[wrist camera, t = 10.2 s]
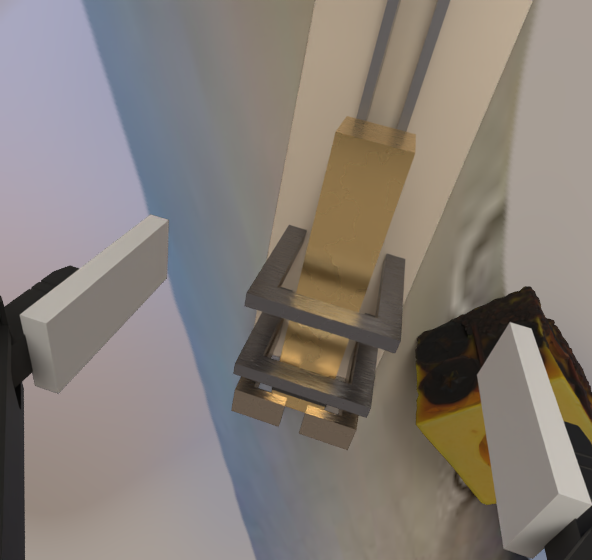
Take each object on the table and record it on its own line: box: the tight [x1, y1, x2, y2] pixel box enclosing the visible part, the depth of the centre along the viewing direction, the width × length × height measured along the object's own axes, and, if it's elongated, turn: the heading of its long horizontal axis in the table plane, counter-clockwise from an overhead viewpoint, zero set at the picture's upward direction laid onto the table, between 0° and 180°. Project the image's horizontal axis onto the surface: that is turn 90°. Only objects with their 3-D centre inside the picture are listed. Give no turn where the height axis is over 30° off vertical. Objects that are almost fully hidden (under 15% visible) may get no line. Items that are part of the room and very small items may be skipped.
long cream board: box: [254, 0, 533, 378], centre depth 30 cm, size 40×12×3 cm, turn 168°
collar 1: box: [245, 225, 405, 353], centre depth 31 cm, size 1×10×11 cm, turn 78°
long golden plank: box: [272, 116, 416, 413], centre depth 31 cm, size 22×4×4 cm, turn 168°
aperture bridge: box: [231, 318, 359, 450], centre depth 36 cm, size 2×9×10 cm, turn 78°
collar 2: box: [233, 287, 378, 418], centre depth 34 cm, size 1×10×11 cm, turn 78°
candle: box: [415, 287, 592, 505], centre depth 33 cm, size 10×10×10 cm
